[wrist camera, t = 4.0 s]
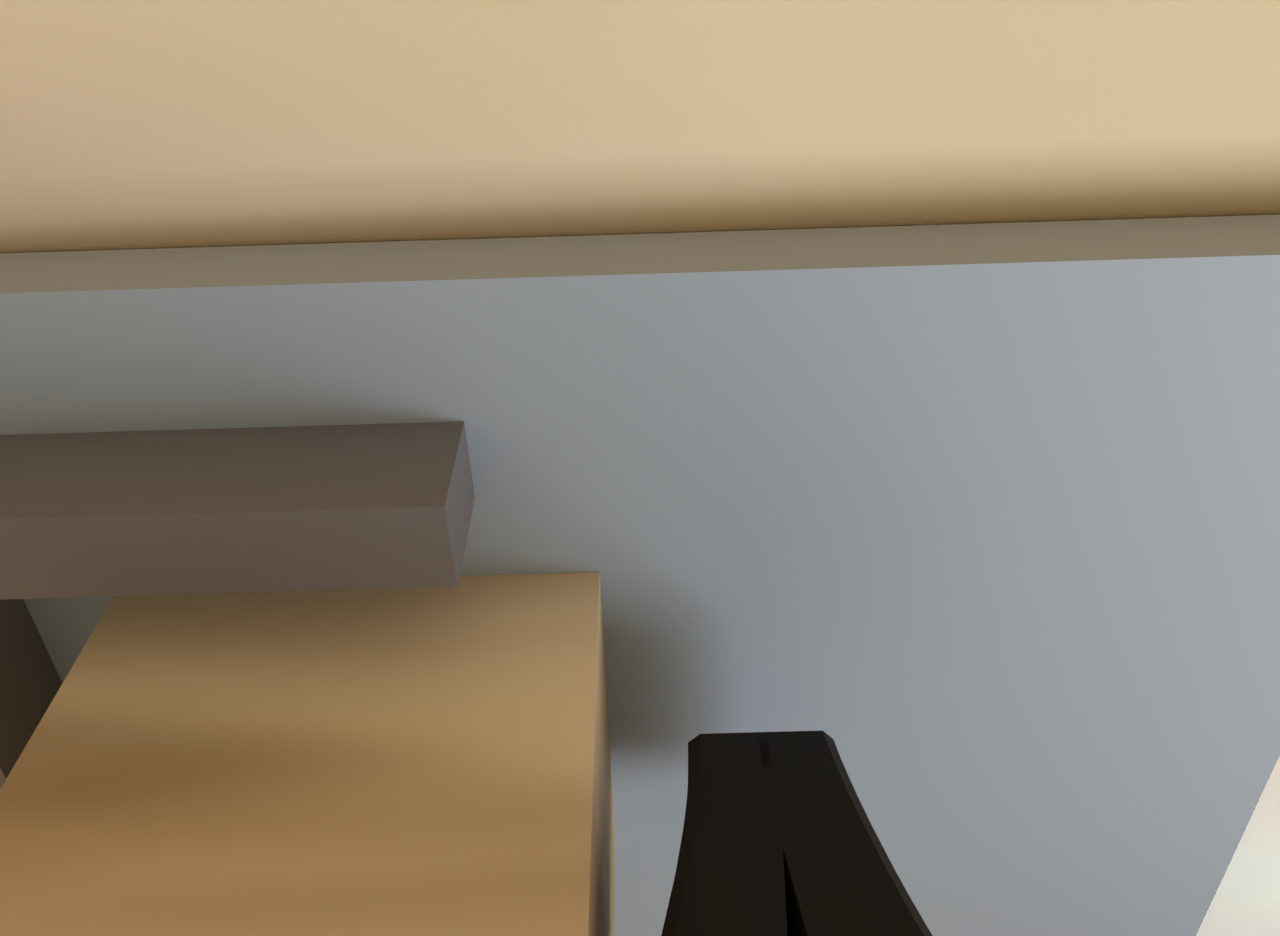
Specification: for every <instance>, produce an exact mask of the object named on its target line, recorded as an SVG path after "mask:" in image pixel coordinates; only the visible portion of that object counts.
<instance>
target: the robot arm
mask: <svg viewBox="0 0 1280 936" xmlns="http://www.w3.org/2000/svg"><path fill="white" fill-rule="evenodd" d="M661 936H932V934H931V932H930V931H929V929H928V927H927V925H926V924H925V922H924V920H923V919H922V917H921V915H920V913H919V912H918V910H917V908H916V907H915V905H914V903H913V902H912V900H911V898H910V896H909V894H908V893H907V891H906V889H905V887H904V885H903V884H902V882H901V880H900V878H899V876H898V875H897V873H896V871H895V869H894V867H893V865H892V863H891V861H890V860H889V858H888V856H887V854H886V852H885V850H884V848H883V846H882V844H881V842H880V840H879V838H878V836H877V835H876V833H875V831H874V829H873V827H872V825H871V823H870V821H869V819H868V817H867V815H866V813H865V810H864V808H863V806H862V804H861V802H860V800H859V798H858V796H857V794H856V792H855V789H854V787H853V785H852V783H851V781H850V778H849V776H848V774H847V771H846V769H845V767H844V765H843V762H842V760H841V757H840V755H839V752H838V750H837V747H836V745H835V742H834V739H833V738H831V737H830V736H829V735H828V734H826V733H825V732H824V731H823V730H822V731H784V732H747V733H709V734H699V735H698V736H696V737H695V738H694V739H692V740H691V741H689V742H688V790H687V802H686V811H685V819H684V826H683V833H682V839H681V845H680V850H679V856H678V862H677V868H676V873H675V878H674V882H673V887H672V891H671V895H670V900H669V904H668V908H667V913H666V917H665V921H664V926H663V930H662V935H661Z"/></svg>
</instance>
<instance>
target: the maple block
mask: <svg viewBox="0 0 1280 936" xmlns="http://www.w3.org/2000/svg"><path fill="white" fill-rule="evenodd" d="M615 842H616V839H615V822H614V806H613V789H612V772H611V755H610V739H609V722H608V705H607V688H606V672H605V655H604V638H603V621H602V605H601V588H600V572H593V573H553V574H514V575H475V576H460V577H459V583H458V587H423V588H388V589H353V590H318V591H283V592H248V593H213V594H178V595H143V596H113V598H112V600H111V601H110V603H109V605H108V607H107V608H106V610H105V612H104V613H103V615H102V617H101V619H100V620H99V622H98V624H97V625H96V627H95V629H94V630H93V632H92V634H91V636H90V637H89V639H88V641H87V642H86V644H85V646H84V648H83V649H82V651H81V653H80V654H79V656H78V658H77V659H76V661H75V663H74V665H73V666H72V668H71V670H70V671H69V673H68V675H67V676H66V678H65V680H64V682H63V683H62V685H61V687H60V688H59V690H58V692H57V694H56V695H55V697H54V699H53V700H52V702H51V704H50V705H49V707H48V709H47V711H46V712H45V714H44V716H43V717H42V719H41V721H40V723H39V724H38V726H37V728H36V729H35V731H34V733H33V734H32V736H31V738H30V740H29V741H28V743H27V745H26V746H25V748H24V750H23V752H22V753H21V755H20V757H19V758H18V760H17V762H16V763H15V765H14V767H13V769H12V770H11V772H10V774H9V775H8V777H7V779H6V780H5V782H4V784H3V786H2V787H1V789H0V936H615Z"/></svg>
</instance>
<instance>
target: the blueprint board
mask: <svg viewBox="0 0 1280 936" xmlns="http://www.w3.org/2000/svg"><path fill="white" fill-rule="evenodd" d="M593 572H600V588H601V605H602V621H603V638H604V655H605V672H606V688H607V705H608V722H609V739H610V755H611V772H612V789H613V806H614V822H615V839H616V842H615V936H661V935H662V930H663V926H664V921H665V917H666V913H667V908H668V904H669V900H670V895H671V891H672V887H673V882H674V878H675V873H676V868H677V862H678V856H679V850H680V845H681V839H682V833H683V826H684V819H685V811H686V802H687V790H688V742H689V741H691V740H692V739H694V738H695V737H696V736H698V735H699V734H709V733H747V732H784V731H822V730H823V731H824V732H825V733H826V734H828V735H829V736H830V737H831V738H833V739H834V742H835V745H836V747H837V750H838V752H839V755H840V757H841V760H842V762H843V765H844V767H845V769H846V771H847V774H848V776H849V778H850V781H851V783H852V785H853V787H854V789H855V792H856V794H857V796H858V798H859V800H860V802H861V804H862V806H863V808H864V810H865V813H866V815H867V817H868V819H869V821H870V823H871V825H872V827H873V829H874V831H875V833H876V835H877V836H878V838H879V840H880V842H881V844H882V846H883V848H884V850H885V852H886V854H887V856H888V858H889V860H890V861H891V863H892V865H893V867H894V869H895V871H896V873H897V875H898V876H899V878H900V880H901V882H902V884H903V885H904V887H905V889H906V891H907V893H908V894H909V896H910V898H911V900H912V902H913V903H914V905H915V907H916V908H917V910H918V912H919V913H920V915H921V917H922V919H923V920H924V922H925V924H926V925H927V927H928V929H929V931H930V932H931V934H932V936H1196V934H1197V932H1198V930H1199V928H1200V925H1201V923H1202V921H1203V919H1204V917H1205V915H1206V912H1207V910H1208V908H1209V906H1210V904H1211V902H1212V900H1213V897H1214V895H1215V893H1216V891H1217V889H1218V887H1219V884H1220V882H1221V880H1222V878H1223V876H1224V874H1225V872H1226V869H1227V867H1228V865H1229V863H1230V861H1231V859H1232V856H1233V854H1234V852H1235V850H1236V848H1237V846H1238V844H1239V841H1240V839H1241V837H1242V835H1243V833H1244V831H1245V828H1246V826H1247V824H1248V822H1249V820H1250V818H1251V816H1252V813H1253V811H1254V809H1255V807H1256V805H1257V803H1258V800H1259V798H1260V796H1261V794H1262V792H1263V790H1264V788H1265V785H1266V783H1267V781H1268V779H1269V777H1270V775H1271V772H1272V770H1273V768H1274V766H1275V764H1276V762H1277V760H1278V757H1279V755H1280V214H1276V215H1243V216H1211V217H1178V218H1145V219H1112V220H1079V221H1046V222H1013V223H980V224H947V225H914V226H881V227H848V228H816V229H783V230H750V231H717V232H684V233H651V234H618V235H585V236H552V237H519V238H486V239H453V240H420V241H388V242H355V243H322V244H289V245H256V246H223V247H190V248H157V249H124V250H91V251H58V252H25V253H0V789H1V787H2V786H3V784H4V782H5V780H6V779H7V777H8V775H9V774H10V772H11V770H12V769H13V767H14V765H15V763H16V762H17V760H18V758H19V757H20V755H21V753H22V752H23V750H24V748H25V746H26V745H27V743H28V741H29V740H30V738H31V736H32V734H33V733H34V731H35V729H36V728H37V726H38V724H39V723H40V721H41V719H42V717H43V716H44V714H45V712H46V711H47V709H48V707H49V705H50V704H51V702H52V700H53V699H54V697H55V695H56V694H57V692H58V690H59V688H60V687H61V685H62V683H63V682H64V680H65V678H66V676H67V675H68V673H69V671H70V670H71V668H72V666H73V665H74V663H75V661H76V659H77V658H78V656H79V654H80V653H81V651H82V649H83V648H84V646H85V644H86V642H87V641H88V639H89V637H90V636H91V634H92V632H93V630H94V629H95V627H96V625H97V624H98V622H99V620H100V619H101V617H102V615H103V613H104V612H105V610H106V608H107V607H108V605H109V603H110V601H111V600H112V598H113V596H143V595H178V594H213V593H248V592H283V591H318V590H353V589H388V588H423V587H458V583H459V577H460V576H475V575H514V574H553V573H593Z"/></svg>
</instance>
